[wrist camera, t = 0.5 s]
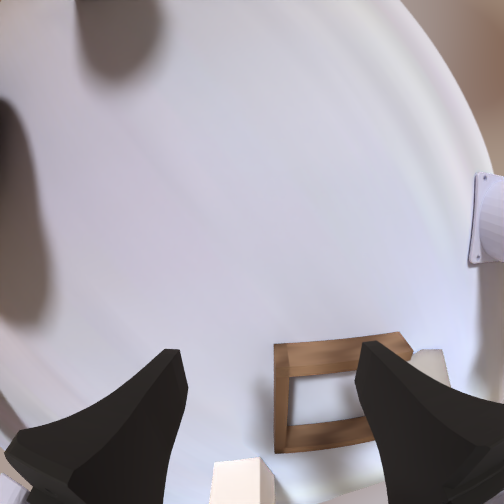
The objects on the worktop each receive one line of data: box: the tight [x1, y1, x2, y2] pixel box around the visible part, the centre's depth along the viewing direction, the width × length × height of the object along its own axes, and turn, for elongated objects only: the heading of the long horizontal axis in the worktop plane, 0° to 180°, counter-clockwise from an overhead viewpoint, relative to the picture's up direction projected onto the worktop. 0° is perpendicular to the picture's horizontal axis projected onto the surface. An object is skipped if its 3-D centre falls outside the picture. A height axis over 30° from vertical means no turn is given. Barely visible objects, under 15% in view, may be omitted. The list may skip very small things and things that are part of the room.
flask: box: [407, 349, 451, 387], centre depth 18 cm, size 7×7×10 cm
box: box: [274, 332, 413, 454], centre depth 22 cm, size 11×12×3 cm
